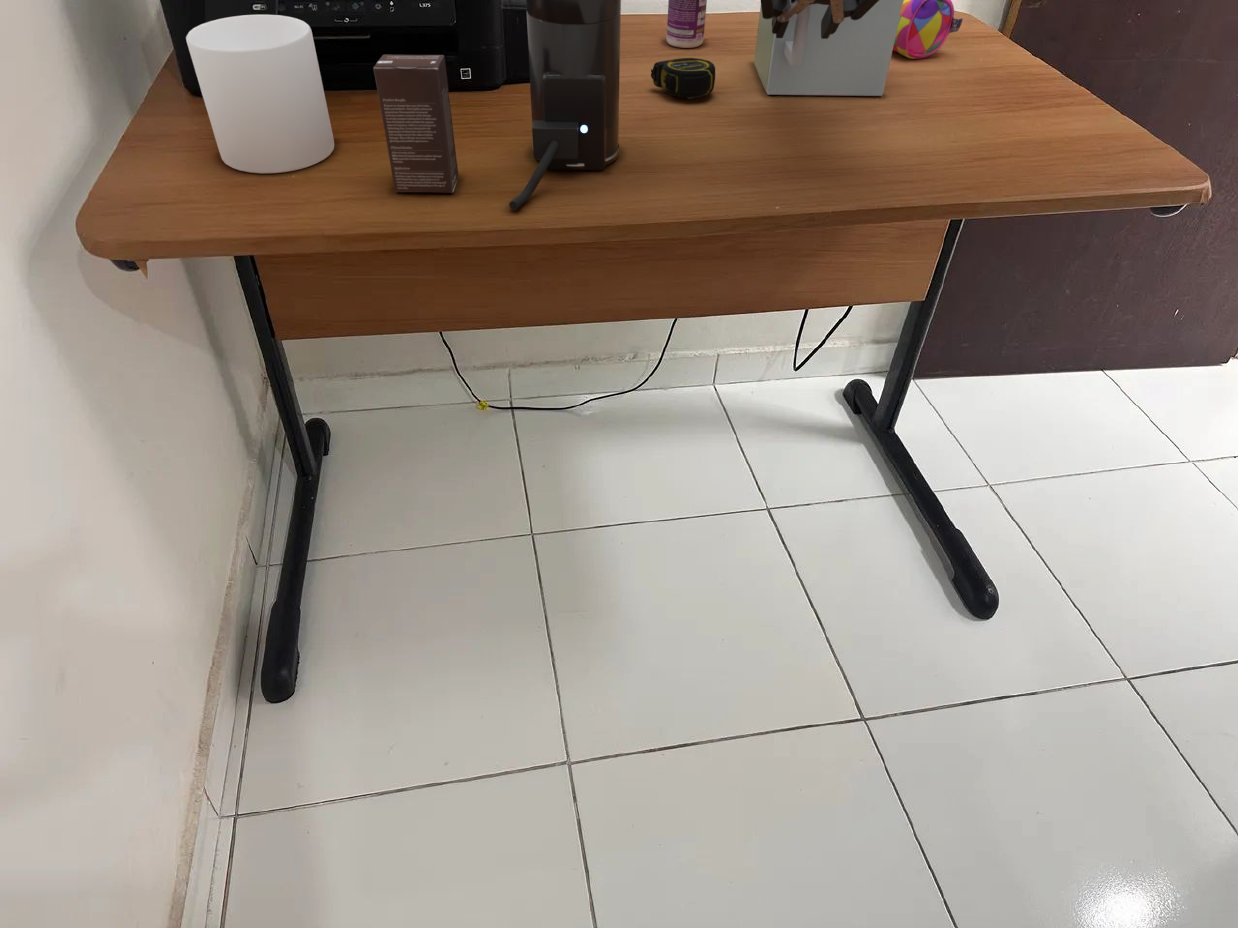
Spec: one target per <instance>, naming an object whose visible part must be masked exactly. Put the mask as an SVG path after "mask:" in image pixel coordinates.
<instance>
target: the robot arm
mask: <svg viewBox="0 0 1238 928" xmlns="http://www.w3.org/2000/svg"><path fill="white" fill-rule="evenodd" d="M878 1H879V0H760V7H761V8H762V16H763V18H764V19H771V18H772V33H773V34H776V38H783V36H784V34H785V31H786V29H787V26H788V24H789V19H790V18H791V17H792V16H793V15H794V14H796V15H798V14H799V13H800V12H801V11H803V10H804V9H805V8H806V7H807V6H808V5H811V4H822V5H829V6H828V8H827V10H826V12H825V14H824V16H823V18H822V21H821V39H828V37H829V35H830V34H834V33H835V32H836V30H837V28H838V26H839V24H840V23H841V22H843V21H844V18H846V17H851V19H852V20H859V19H860V18H862V17H863V16H864V15H865V14H866V13H867V12H868V11H869V10H870V9H871V8H872V7H873V6H874V5H875V4H876V3H877V2H878ZM525 2H526V3H525V4H526V5H525V6H526V27H527V50H528V51H527V52H528V68H529V90H530V113H531V127H532V128H531V133H532V136H531V137H532V145H531V149H532V157H533V159H534V160H536V161H538V162H539V163H538V165H537V166H536V168H535V170H534V171H533V173H532V175H531V177H530V179H529V180H528V182H527V184H526V186H525V187H524V188H523V190H522V191H521V193H519V194H518V195H517V196H516V197H514V198H513V199H511V201H510V202H509V203H508V207H509V208H510V210H512V211H517V210H518V209H519V208H521V207H522V206H524V204H526V202H528V200H529V199H530V198H531V196H532V195H533V193H534V192H535V190H536V189H537V187H538V185H539V184H540V181H541V180H542V178H543V177H544V175H545V174H546V172H547V171H605V170H606V166H607V165H610V164H612V163H613V162H615V161H616V160H617V159H618V157H619V155H620V143H619V134H620V133H619V129H620V128H619V125H620V66H621V65H620V64H621V22H622V21H621V19H622V18H621V17H622V13H621V11H622V0H525Z"/></svg>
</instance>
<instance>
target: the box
mask: <svg viewBox="0 0 1238 928" xmlns="http://www.w3.org/2000/svg"><path fill="white" fill-rule="evenodd" d="M373 74H374V78H375V85H376V89H377V90H376V91H377V96H378V101H379V107H380V113H381V118H382V125H383V129H384V135H385V142H386V147H387V152H388V159H389V164H390V170H391V177H392V183H393V189H394V191H395V193H445V194H453V193H454V192H455V189H456V186H457V183H458V180H459V177H460V176H459V175H460V174H459V168H458V167H459V166H458V159H457V150H456V144H455V143H456V142H455V135H454V123H453V116H452V115H453V114H452V107H451V100H450V92H449V82H448V75H447V65H446V58H445V55H444V54H383V55H381V57H380V58H379V59H378V61H377V62H376V64H375V65H374V66H373Z"/></svg>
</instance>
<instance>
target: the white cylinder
mask: <svg viewBox="0 0 1238 928" xmlns="http://www.w3.org/2000/svg"><path fill="white" fill-rule="evenodd" d="M185 40H186V44H187V48H188V51H189V54H190V58H191V61H192V65H193V68H194V72H195V75H196V77H197V81H198V85H199V88H200V92H201V96H202V98H203V103H204V105H205V108H206V111H207V116H208V118H209V122H210V125H211V128H212V132H213V136H214V139H215V142H216V145H217V149H218V152H219V155H220V158H221V161H223V163H224V164H225V165H227V166H228V167H230V168H231V169H234V170H237V171H240V172H245V173H251V174H280V173H282V174H283V173H288V172H294V171H299V170H302V169H306V168H309V167H312V166H314V165H317V164H318V163H320V162H322V161H324V160H325V159H327V158H328V157H329V156H331V154H332V153H333V152H334V149H335V139H334V134H333V129H332V125H331V119H330V115H329V110H328V103H327V99H326V95H325V90H324V85H323V80H322V75H321V71H320V65H319V61H318V56H317V52H316V46H315V41H314V36H313V32H312V28H311V26H310V25H309V24H308V23H307V22H305V21H304V20H301V19H300V18H299V19H298V18H296V17H292V16H287V15H280V14H245V15H235V16H228V17H223V18H222V17H221V18H218V19H214V20H210V21H207V22H204V23H201V24H199V25H197V26H195V27H193V28H192V29H190V30H189V31H188V33H187V34H186V36H185Z"/></svg>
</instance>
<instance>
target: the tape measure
mask: <svg viewBox="0 0 1238 928" xmlns="http://www.w3.org/2000/svg"><path fill="white" fill-rule="evenodd" d="M650 78H651V79H652V81H653V84H654V85H653V86H655V87H656V88H659V89H660V88H661V89H662V90H663V91H664V93H666V94H667V95H670V96H673V97H677V98H687V99H688V100H691V99H697V98H701V97H703V96H707V95H709V94H711V93H712V92H713V90H714V89H715V84H716V66H715V64H714V63H713V62H711V61H710V60H707V59H703V58H696V57H681V58H673V59H668V60H661V61H660V60H659V61H657V62H655V63H654V64H653V67H652V68H650Z"/></svg>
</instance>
